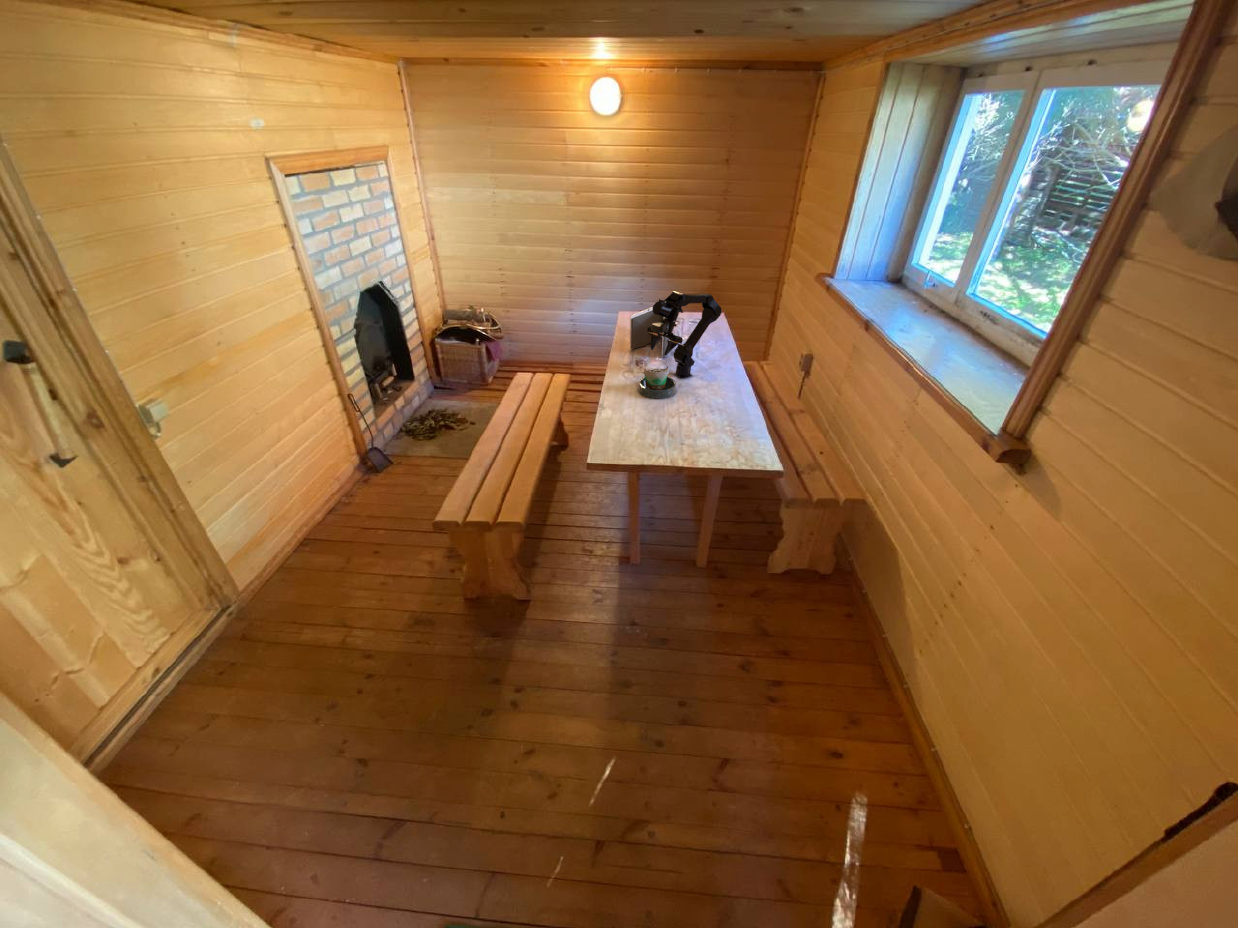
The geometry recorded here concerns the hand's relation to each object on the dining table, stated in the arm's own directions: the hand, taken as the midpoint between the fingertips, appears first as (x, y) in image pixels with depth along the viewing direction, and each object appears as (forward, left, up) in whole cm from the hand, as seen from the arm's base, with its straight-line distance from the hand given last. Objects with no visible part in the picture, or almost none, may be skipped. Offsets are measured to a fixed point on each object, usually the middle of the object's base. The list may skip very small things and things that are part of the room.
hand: (658, 352), depth 237 cm
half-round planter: (+3, +5, -16) cm, 17 cm away
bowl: (+3, +5, -16) cm, 18 cm away
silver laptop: (-19, -46, -17) cm, 52 cm away
